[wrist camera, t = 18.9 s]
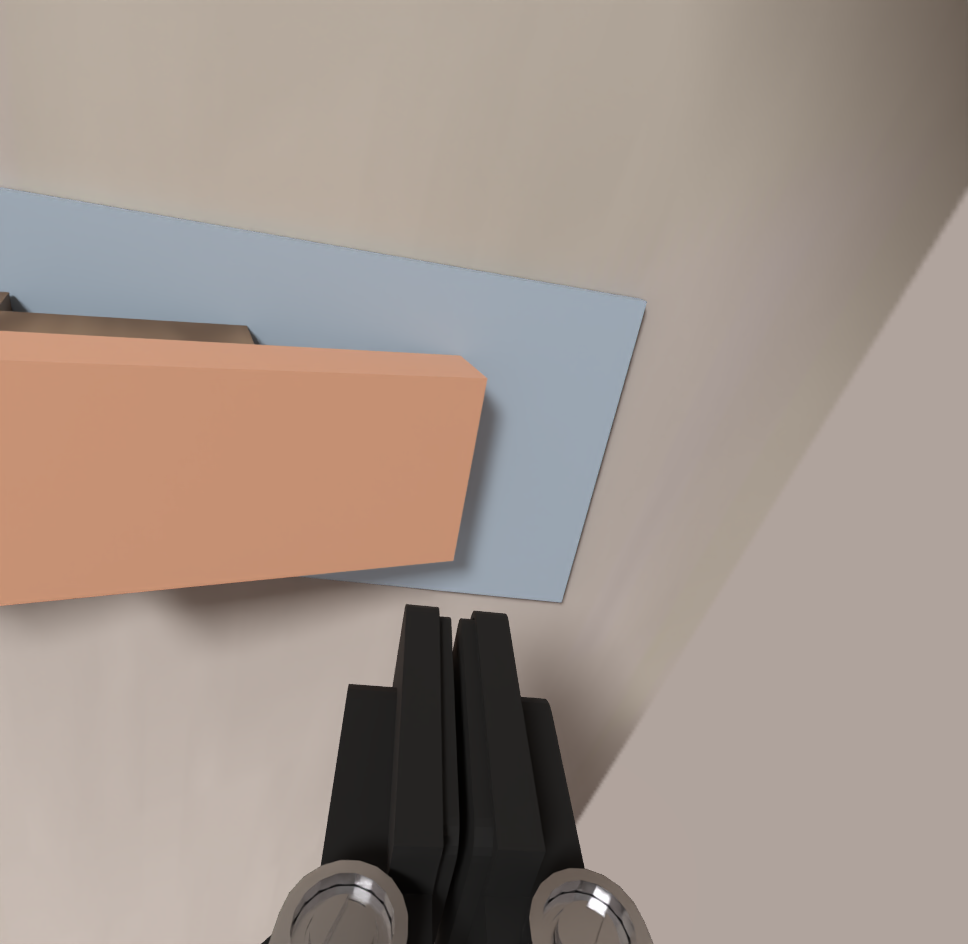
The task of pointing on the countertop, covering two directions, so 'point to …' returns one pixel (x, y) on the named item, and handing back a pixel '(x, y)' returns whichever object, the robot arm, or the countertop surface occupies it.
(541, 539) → the pale blue placemat
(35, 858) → the countertop surface
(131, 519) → the terracotta domino
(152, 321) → the domino
